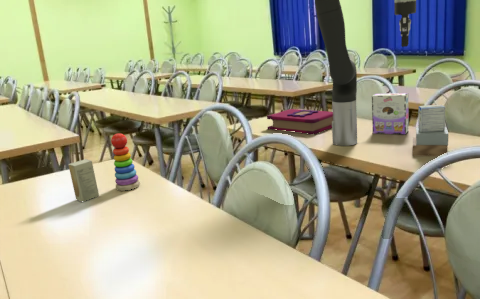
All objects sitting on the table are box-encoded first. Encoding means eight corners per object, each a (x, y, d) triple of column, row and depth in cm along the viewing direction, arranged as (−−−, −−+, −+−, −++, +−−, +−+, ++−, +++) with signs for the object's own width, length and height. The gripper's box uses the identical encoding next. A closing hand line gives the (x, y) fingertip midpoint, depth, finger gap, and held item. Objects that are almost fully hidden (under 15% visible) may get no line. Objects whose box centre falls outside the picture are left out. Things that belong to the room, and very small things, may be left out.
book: (293, 121, 231) (292, 106, 229) (340, 125, 211) (339, 110, 209) (266, 130, 217) (265, 114, 215) (313, 135, 197) (313, 118, 195)
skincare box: (93, 193, 147) (86, 158, 144) (99, 196, 144) (93, 160, 141) (74, 200, 142) (67, 163, 139) (80, 203, 139) (73, 165, 136)
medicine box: (441, 128, 158) (442, 104, 156) (445, 131, 154) (445, 106, 151) (418, 129, 159) (418, 105, 157) (421, 132, 155) (421, 108, 153)
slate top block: (416, 145, 155) (416, 133, 154) (416, 137, 164) (416, 127, 163) (448, 145, 151) (448, 133, 150) (446, 137, 160) (446, 127, 159)
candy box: (408, 131, 188) (409, 92, 183) (405, 135, 183) (405, 95, 179) (375, 130, 195) (375, 92, 191) (371, 133, 190) (371, 95, 186)
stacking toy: (129, 182, 155) (120, 129, 150) (145, 185, 151) (136, 131, 146) (111, 189, 149) (101, 135, 144) (127, 193, 145) (117, 137, 140)
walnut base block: (412, 156, 156) (412, 145, 155) (412, 148, 166) (412, 137, 165) (447, 157, 152) (447, 145, 151) (445, 148, 162) (445, 137, 161)
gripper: (395, 2, 172) (395, 45, 176) (393, 1, 159) (393, 47, 164) (416, 0, 169) (415, 44, 173) (415, -1, 157) (415, 46, 161)
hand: (405, 45), depth 169 cm, fingers open, 8 cm apart
